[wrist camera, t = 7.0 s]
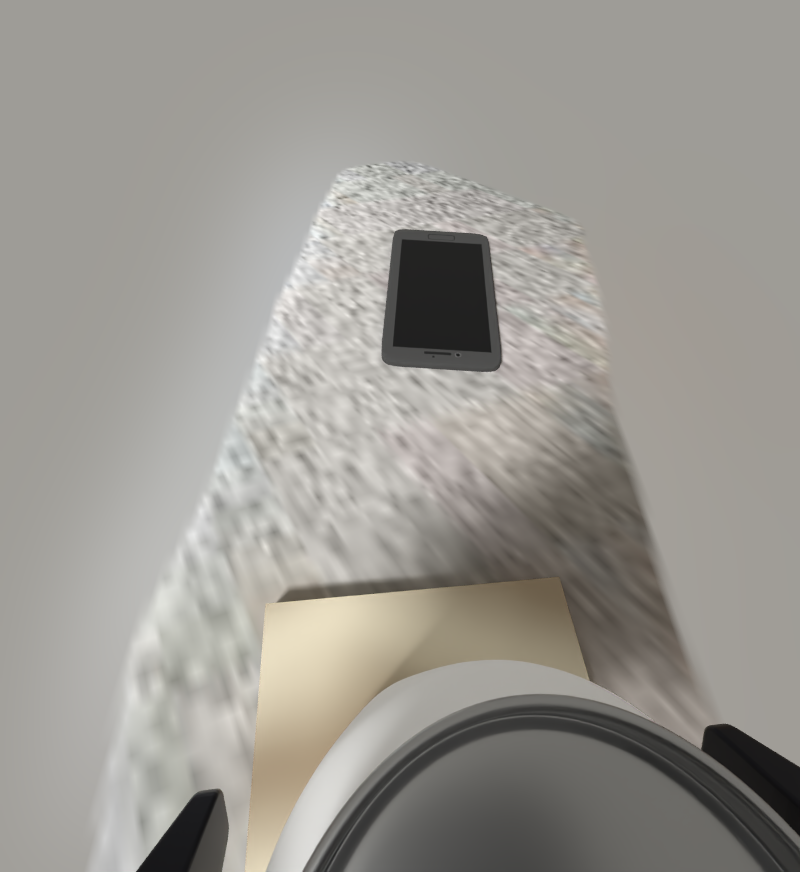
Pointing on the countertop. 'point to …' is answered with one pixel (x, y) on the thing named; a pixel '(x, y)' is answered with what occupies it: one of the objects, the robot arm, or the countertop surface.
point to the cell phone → (441, 303)
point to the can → (523, 786)
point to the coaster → (379, 670)
